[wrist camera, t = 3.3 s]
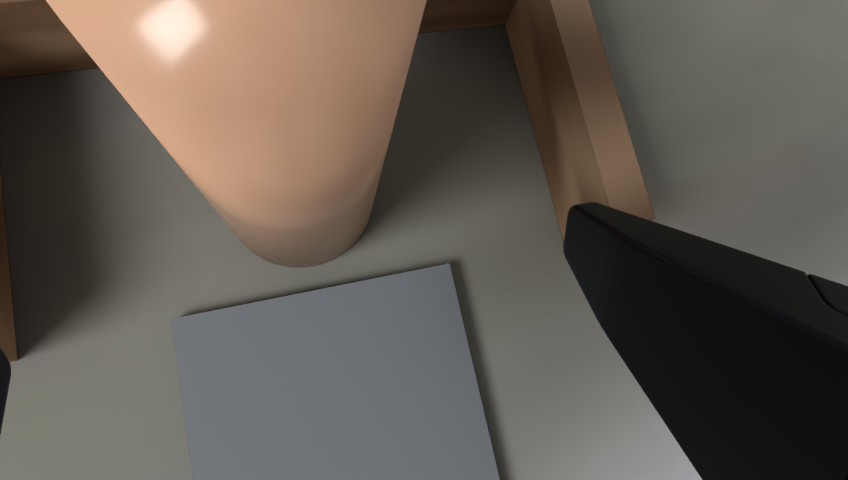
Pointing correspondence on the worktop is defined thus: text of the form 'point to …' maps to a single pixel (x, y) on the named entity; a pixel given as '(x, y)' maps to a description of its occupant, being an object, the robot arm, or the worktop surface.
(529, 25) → the cradle
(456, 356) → the mat
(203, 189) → the tan rounded upright piece
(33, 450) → the worktop surface
